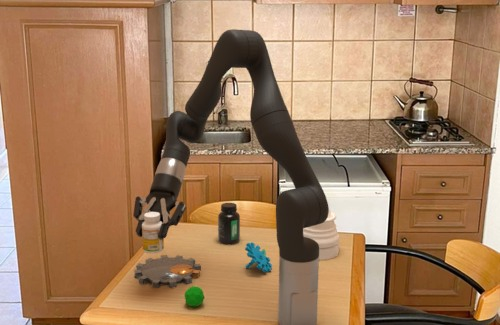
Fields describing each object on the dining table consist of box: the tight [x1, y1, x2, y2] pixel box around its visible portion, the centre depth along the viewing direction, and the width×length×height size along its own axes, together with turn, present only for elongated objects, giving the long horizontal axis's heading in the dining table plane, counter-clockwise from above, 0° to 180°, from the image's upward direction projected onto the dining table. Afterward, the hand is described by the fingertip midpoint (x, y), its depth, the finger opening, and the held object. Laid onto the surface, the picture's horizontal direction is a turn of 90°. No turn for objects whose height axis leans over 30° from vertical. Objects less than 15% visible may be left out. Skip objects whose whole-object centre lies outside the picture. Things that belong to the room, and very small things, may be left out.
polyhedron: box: [184, 285, 205, 308], centre depth 159 cm, size 5×5×5 cm
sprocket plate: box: [134, 254, 202, 289], centre depth 177 cm, size 18×18×2 cm
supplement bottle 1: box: [141, 211, 165, 255], centre depth 162 cm, size 5×5×10 cm
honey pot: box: [303, 209, 340, 261], centre depth 191 cm, size 13×13×18 cm
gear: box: [244, 241, 273, 273], centre depth 180 cm, size 11×6×10 cm
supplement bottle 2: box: [217, 202, 241, 245], centre depth 199 cm, size 7×7×12 cm
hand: (149, 236), depth 160 cm, fingers closed on supplement bottle 1, 5 cm apart
